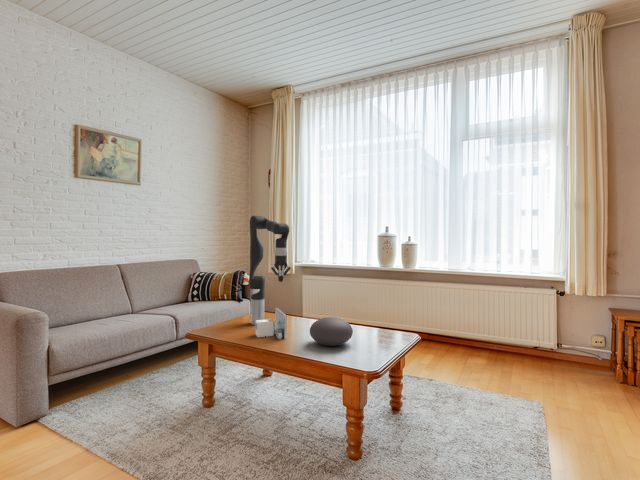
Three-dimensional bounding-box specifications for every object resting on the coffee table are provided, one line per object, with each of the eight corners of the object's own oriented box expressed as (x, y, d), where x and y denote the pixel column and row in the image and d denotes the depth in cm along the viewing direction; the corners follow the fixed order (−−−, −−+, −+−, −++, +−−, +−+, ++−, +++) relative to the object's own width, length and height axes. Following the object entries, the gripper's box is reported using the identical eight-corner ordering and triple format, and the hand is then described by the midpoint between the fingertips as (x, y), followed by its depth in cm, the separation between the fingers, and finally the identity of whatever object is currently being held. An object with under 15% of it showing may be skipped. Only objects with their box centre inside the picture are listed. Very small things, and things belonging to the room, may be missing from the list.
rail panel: (269, 329, 235) (269, 308, 235) (277, 328, 237) (277, 307, 237) (278, 339, 213) (278, 315, 213) (286, 338, 215) (286, 315, 215)
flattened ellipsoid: (358, 341, 212) (358, 315, 211) (343, 353, 189) (344, 325, 189) (320, 336, 222) (320, 311, 222) (301, 347, 199) (302, 320, 199)
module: (254, 334, 223) (254, 319, 223) (271, 333, 227) (271, 318, 226) (256, 337, 217) (256, 321, 217) (273, 335, 221) (273, 320, 221)
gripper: (289, 254, 236) (289, 280, 236) (269, 254, 231) (269, 281, 232) (292, 254, 229) (292, 282, 229) (272, 255, 224) (271, 282, 225)
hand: (280, 281), depth 230 cm, fingers closed
